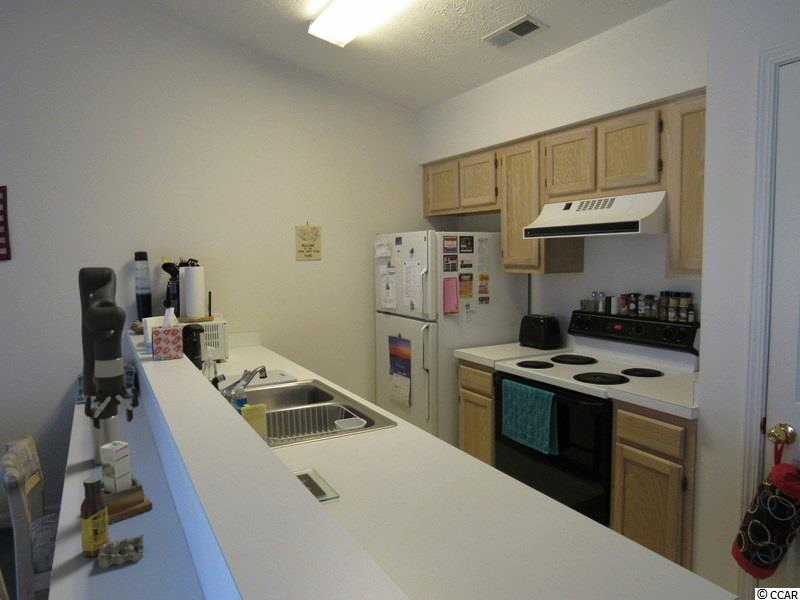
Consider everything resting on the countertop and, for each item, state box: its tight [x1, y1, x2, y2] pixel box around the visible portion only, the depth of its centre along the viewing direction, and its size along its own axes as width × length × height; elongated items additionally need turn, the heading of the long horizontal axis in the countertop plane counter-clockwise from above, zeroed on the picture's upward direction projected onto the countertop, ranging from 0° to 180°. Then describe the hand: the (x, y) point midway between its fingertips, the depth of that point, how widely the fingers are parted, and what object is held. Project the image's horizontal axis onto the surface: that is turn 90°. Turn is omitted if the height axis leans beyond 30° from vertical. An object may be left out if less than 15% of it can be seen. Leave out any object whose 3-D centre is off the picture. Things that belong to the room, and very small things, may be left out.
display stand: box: [101, 473, 153, 525], centre depth 159 cm, size 16×14×8 cm
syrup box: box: [100, 441, 132, 493], centre depth 158 cm, size 6×6×14 cm
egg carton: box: [97, 534, 145, 569], centre depth 135 cm, size 11×8×4 cm
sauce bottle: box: [79, 476, 110, 558], centre depth 137 cm, size 6×6×20 cm
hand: (113, 424), depth 156 cm, fingers open, 8 cm apart
